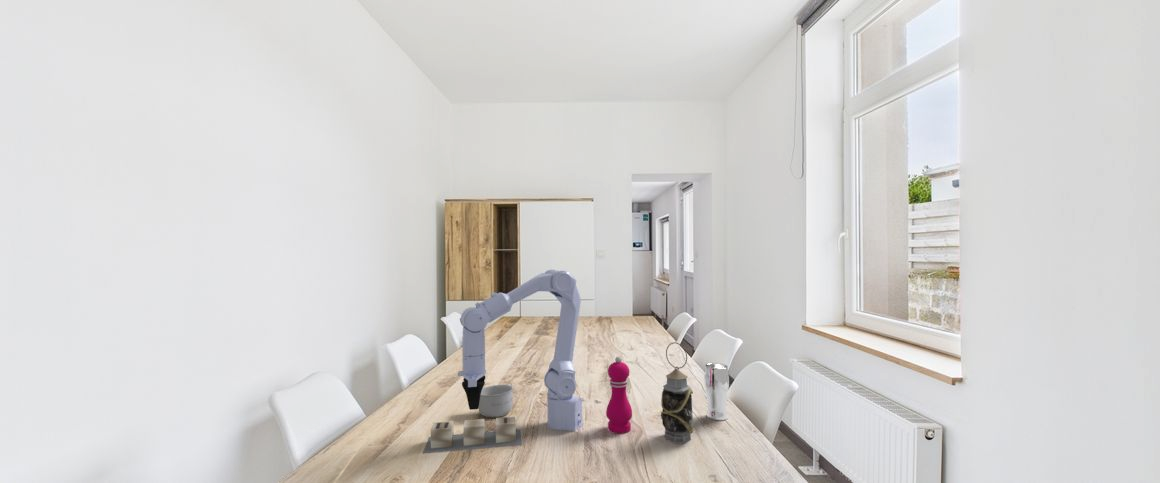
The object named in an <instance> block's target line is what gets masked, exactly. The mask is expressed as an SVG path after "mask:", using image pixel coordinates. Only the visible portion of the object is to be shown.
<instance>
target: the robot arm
mask: <svg viewBox="0 0 1160 483" xmlns="http://www.w3.org/2000/svg"><path fill="white" fill-rule="evenodd" d="M538 292H548V293H550V294H551V295H554V296H555V298H556V299H557V301H558V302H559V303H560V304H561V306H560V311H559V312H560V313H559V319H558V325H557V333H556V339H555V345H554V355H553V359H552V360H551V362H550V363H549V365H548V369H547V371H546V373H545V375H544V377H543V382H544V386H545V387H546V388H547V393H546V397H547V400H546V401H547V405H546V406H547V407H546V408H547V409H546V410H547V427H548V428H550V429H552V430H558V431H571V432H576V431H577V430H578V429H580V428H581V427H583V425H584V421H583V401H582V398H581V397H578V396H575V395H574V394H575V392H576V389H577V380H576V370H575V367H574V365H573V357H574V350H575V344H576V338H577V330H578V322H579V316H580V308H581V302H582V301H581V295H580V293H579V289H578V287H577V279H576V278H575V277H574V276H573V275H572V274H571V272H569V271H567V270H555V269H549V270H546V271H544V272H541V273H539V274H538V275H536V276H534V277H532V278H531V279H529V280H526V282H524V283H522V284H521V285H519V286H517V287H516V288H513V290H510V291H509V292H507V293H503V292H498V293H497V292H493V293H491V294H490V297H489V298H487V299H485V300H483V301H482V302H478V301H477V302H476V303H475V304H474V306H475V307H474V306H473V307H472V306H471V307H468V308H465V309H464V310H463V312H462V313H461V315H460V318H459V321H460V324H461V326H462V341H461V342H462V349H461V350H462V370H460V371H457V372H458V373H457V376H459V377H460V376H462V377H463V379H462V380H463V381H462V382H461V386H462V388H463V390H464V392H465V395H466V398H467V403H468V409H469V410H470V411H471V410H473V411H474V410H479V409H478V407H479V401H480V395H481V391H482V388H484V387H485V383H486V381H485V380H486V375H487V370H486V335H485V329H486V327H487V325H488V323H491V322H494V321H495V320H497V319H499V318H500V317H502V316H504V315H506V314H508V313H509V312H511V310H512V306H513V305H514V304H516V303H518V302H520V301H523V300H524V299H526V298H527V297H529V296H532V295H534V294H535V293H538Z"/></svg>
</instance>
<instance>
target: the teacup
mask: <svg viewBox="0 0 1160 483" xmlns="http://www.w3.org/2000/svg"><path fill="white" fill-rule="evenodd" d="M513 392H514V386H513V385H512V384H510V383H506V384H495V385H488V386H483V388H482V391H481V395H480V401H479V407H478V409H477V410H478V413H479V414H480V415H482V416H483V417H486V418H492V419H493V418H495V419H496V418H502V417H506V416H507V415H509V413H510V412H511V411H512V409H513V405H514V396H513Z"/></svg>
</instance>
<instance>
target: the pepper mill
mask: <svg viewBox="0 0 1160 483" xmlns="http://www.w3.org/2000/svg"><path fill="white" fill-rule="evenodd" d="M614 360H615V362H612V363H611V364H610V365H609V366H608V368H607V375H608V377H609V378H610V379H609V386H610V387H611V397H610V399H609V401H608V404H607V406H606V412H605V415H606V418H607V419H608V420H609V421H607V429H608V431H609V432H611V433H613V434H627V433H629V432H631V428H632V426H631V425H632V424H631V421H630V420H631V419H632V418H633V409H632V407H631V406H632V405H631V403H630V401H629V399H628V396H627V387H628V386H629V384H628V382H629V380H628V377H629V376H630V367H629V366H628V365H627V364H626V363H625V362H622V357H621V356H616V357H615V358H614Z"/></svg>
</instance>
